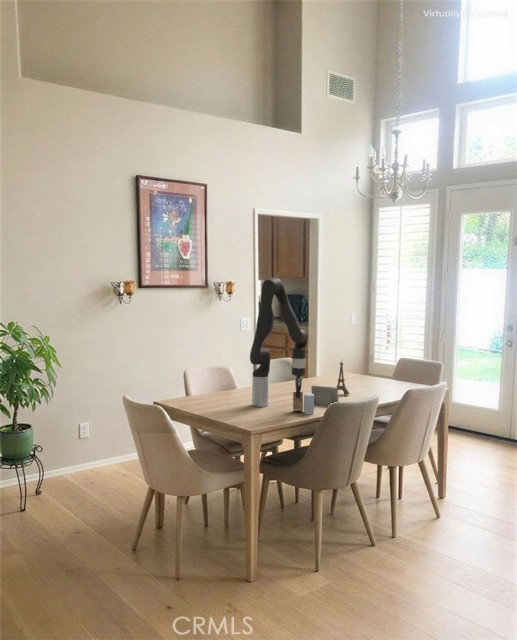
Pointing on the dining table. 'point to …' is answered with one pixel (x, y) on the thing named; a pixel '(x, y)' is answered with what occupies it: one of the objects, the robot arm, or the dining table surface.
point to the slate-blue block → (309, 403)
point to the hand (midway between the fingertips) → (298, 397)
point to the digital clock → (324, 395)
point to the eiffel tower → (342, 382)
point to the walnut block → (298, 402)
